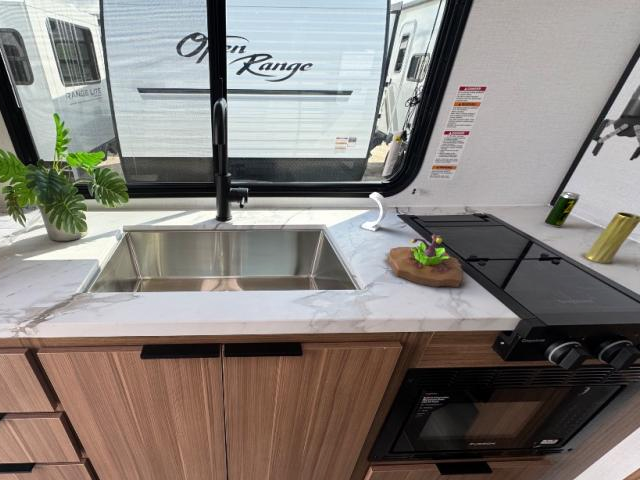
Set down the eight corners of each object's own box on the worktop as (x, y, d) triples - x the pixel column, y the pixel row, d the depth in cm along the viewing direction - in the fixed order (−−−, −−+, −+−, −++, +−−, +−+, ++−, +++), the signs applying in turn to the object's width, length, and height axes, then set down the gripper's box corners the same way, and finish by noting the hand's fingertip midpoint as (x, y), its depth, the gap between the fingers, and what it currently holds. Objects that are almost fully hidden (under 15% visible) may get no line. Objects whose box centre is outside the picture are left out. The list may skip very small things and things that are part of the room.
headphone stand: (366, 223, 122) (374, 192, 115) (382, 228, 119) (391, 195, 112) (361, 227, 119) (369, 194, 112) (377, 231, 116) (386, 198, 109)
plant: (390, 280, 89) (403, 243, 82) (384, 250, 104) (394, 216, 98) (471, 292, 85) (490, 254, 78) (452, 258, 100) (467, 224, 94)
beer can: (540, 223, 125) (558, 192, 118) (548, 221, 127) (567, 190, 120) (555, 228, 121) (575, 196, 114) (564, 226, 123) (584, 195, 116)
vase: (603, 265, 98) (638, 220, 90) (579, 256, 103) (610, 213, 94) (614, 261, 100) (648, 217, 92) (590, 253, 105) (621, 210, 96)
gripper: (687, 98, 91) (645, 160, 100) (618, 96, 100) (586, 152, 109) (685, 99, 87) (642, 163, 96) (613, 97, 96) (580, 155, 105)
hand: (612, 157), depth 103 cm, fingers open, 8 cm apart
